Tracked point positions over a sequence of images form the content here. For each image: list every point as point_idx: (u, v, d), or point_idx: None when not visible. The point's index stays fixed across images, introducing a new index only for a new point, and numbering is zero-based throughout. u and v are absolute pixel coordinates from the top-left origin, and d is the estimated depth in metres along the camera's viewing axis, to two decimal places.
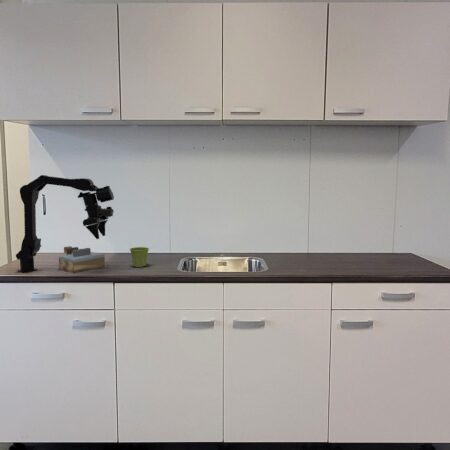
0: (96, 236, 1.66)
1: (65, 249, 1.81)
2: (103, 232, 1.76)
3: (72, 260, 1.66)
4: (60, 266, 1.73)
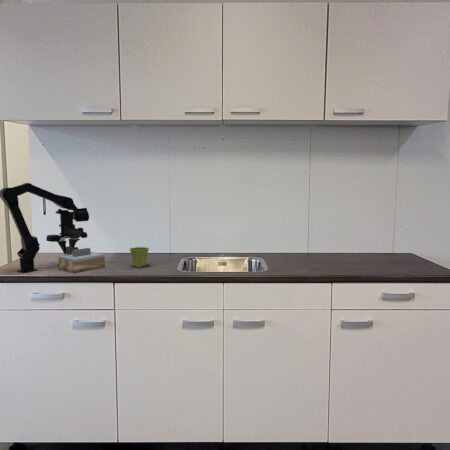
0: (63, 251, 1.81)
1: None
2: None
3: (72, 260, 1.66)
4: (60, 266, 1.73)
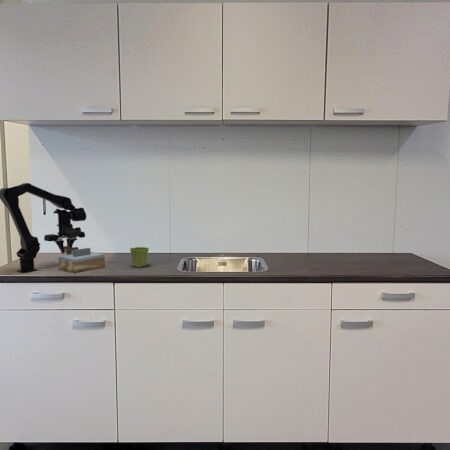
0: (61, 251, 1.82)
1: None
2: None
3: (72, 260, 1.66)
4: (60, 266, 1.73)
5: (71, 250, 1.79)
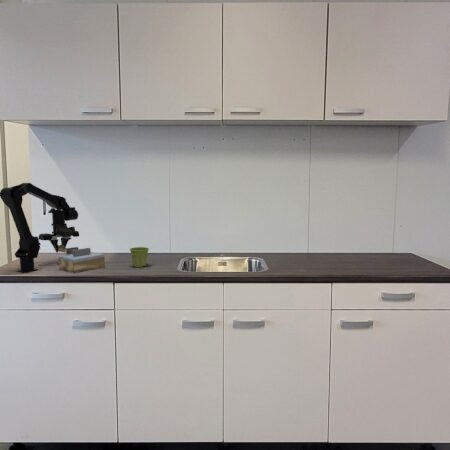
0: (55, 250, 1.85)
1: None
2: None
3: (72, 260, 1.66)
4: (60, 266, 1.73)
5: (65, 249, 1.82)
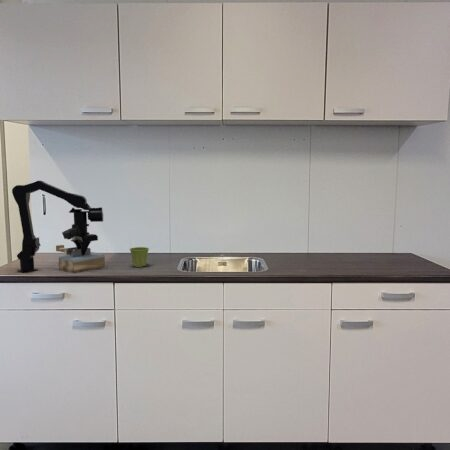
0: None
1: (57, 247, 1.85)
2: None
3: (72, 260, 1.66)
4: (60, 266, 1.73)
5: (65, 249, 1.82)
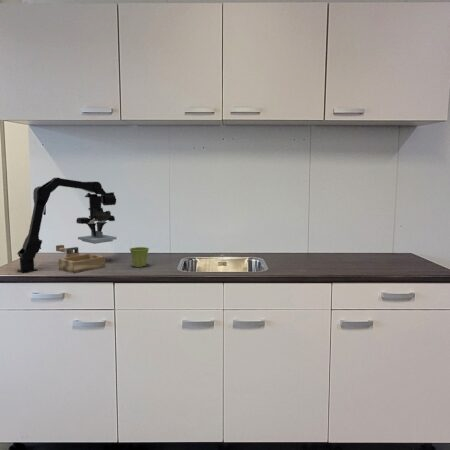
0: (93, 233, 1.90)
1: (57, 247, 1.85)
2: None
3: (114, 238, 1.90)
4: (60, 266, 1.73)
5: (65, 249, 1.82)
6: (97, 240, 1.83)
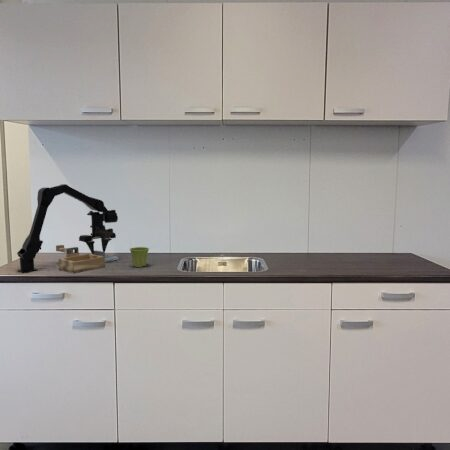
0: (91, 251, 1.91)
1: (57, 247, 1.85)
2: (103, 249, 1.96)
3: (116, 258, 1.93)
4: (60, 266, 1.73)
5: (65, 249, 1.82)
6: None
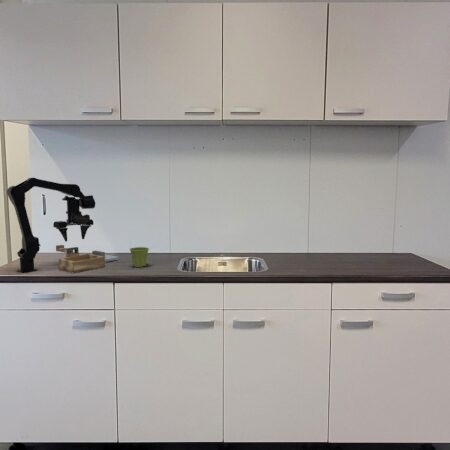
0: (64, 238, 1.80)
1: (57, 247, 1.85)
2: (82, 236, 1.88)
3: (116, 258, 1.93)
4: (60, 266, 1.73)
5: (65, 249, 1.82)
6: None
